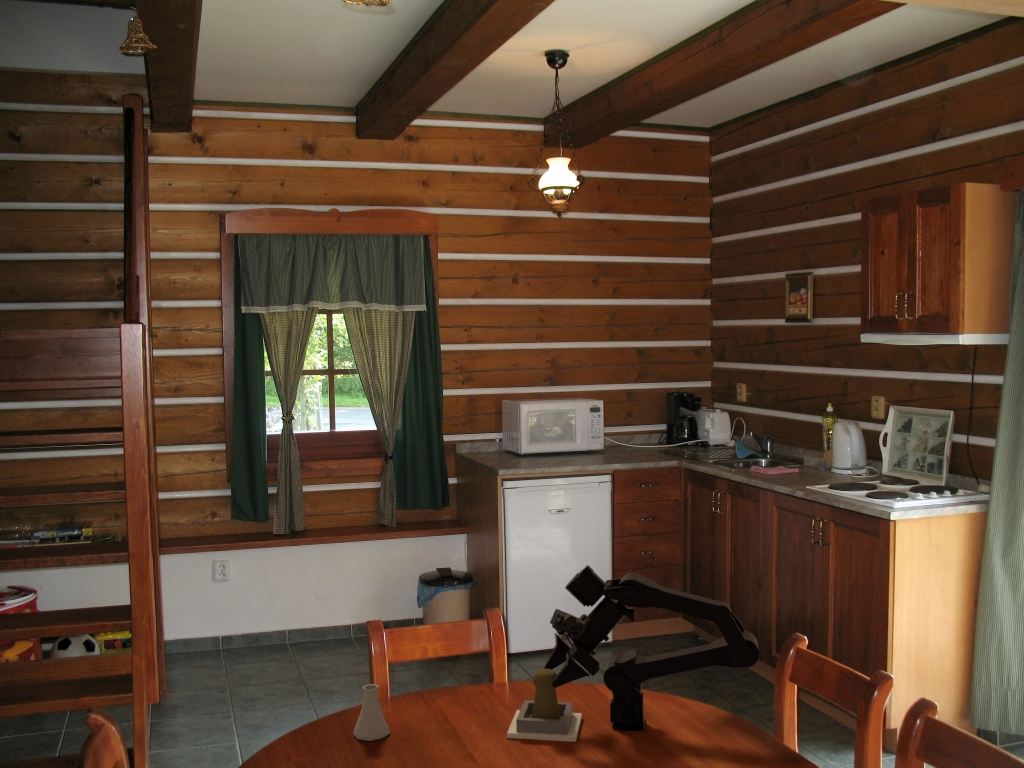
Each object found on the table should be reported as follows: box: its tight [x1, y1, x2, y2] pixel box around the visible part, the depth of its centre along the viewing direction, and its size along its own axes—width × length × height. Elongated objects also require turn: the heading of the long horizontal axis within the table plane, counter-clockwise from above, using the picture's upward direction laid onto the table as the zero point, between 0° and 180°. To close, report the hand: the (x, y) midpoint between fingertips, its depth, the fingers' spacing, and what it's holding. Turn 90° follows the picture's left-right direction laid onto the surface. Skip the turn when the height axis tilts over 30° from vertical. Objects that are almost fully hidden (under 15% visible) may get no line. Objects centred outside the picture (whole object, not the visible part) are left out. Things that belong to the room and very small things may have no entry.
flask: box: [352, 683, 391, 742], centre depth 190 cm, size 7×7×10 cm
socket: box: [506, 699, 583, 743], centre depth 192 cm, size 14×12×4 cm
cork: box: [532, 668, 560, 720], centre depth 192 cm, size 6×6×11 cm
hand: (549, 678), depth 191 cm, fingers open, 9 cm apart
